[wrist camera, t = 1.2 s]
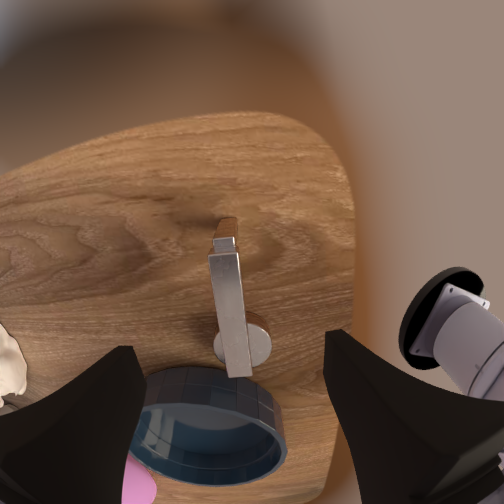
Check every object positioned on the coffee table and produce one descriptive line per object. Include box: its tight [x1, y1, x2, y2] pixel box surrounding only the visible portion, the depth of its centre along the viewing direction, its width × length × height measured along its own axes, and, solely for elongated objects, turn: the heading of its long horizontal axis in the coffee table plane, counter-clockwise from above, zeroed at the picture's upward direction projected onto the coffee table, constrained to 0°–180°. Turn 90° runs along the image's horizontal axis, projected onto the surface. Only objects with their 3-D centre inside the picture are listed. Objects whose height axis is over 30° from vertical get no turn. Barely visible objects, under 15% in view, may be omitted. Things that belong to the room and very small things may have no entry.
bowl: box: [128, 366, 288, 487], centre depth 21 cm, size 14×14×4 cm
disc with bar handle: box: [208, 217, 272, 378], centre depth 16 cm, size 10×4×6 cm, turn 5°
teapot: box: [122, 454, 157, 504], centre depth 20 cm, size 22×16×12 cm
